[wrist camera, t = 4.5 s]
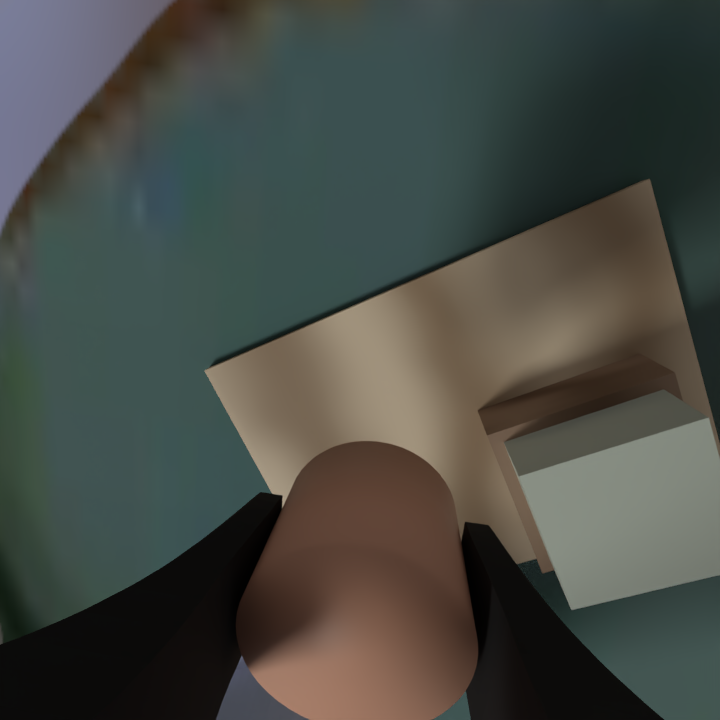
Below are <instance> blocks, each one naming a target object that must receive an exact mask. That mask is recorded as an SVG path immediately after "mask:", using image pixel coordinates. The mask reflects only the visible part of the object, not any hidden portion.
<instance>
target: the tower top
mask: <svg viewBox="0 0 720 720" xmlns="http://www.w3.org/2000/svg"><path fill="white" fill-rule="evenodd" d="M504 444H505V447H506V450H507V452H508V455H509V457H510V460H511V462H512V465H513V467H514V470H515V472H516V475H517V477H518V480H519V482H520V485H521V488H522V490H523V493H524V495H525V498H526V500H527V503H528V505H529V508H530V510H531V513H532V515H533V518H534V521H535V523H536V526H537V528H538V531H539V533H540V536H541V538H542V541H543V543H544V546H545V548H546V551H547V553H548V556H549V559H550V561H551V563H552V566H553V568H554V570H555V573H556V575H557V577H558V580H559V582H560V585H561V587H562V589H563V592H564V594H565V596H566V599H567V601H568V603H569V606H570V608H571V610H574V609H578V608H583V607H587V606H591V605H595V604H600V603H604V602H608V601H612V600H616V599H621V598H625V597H629V596H633V595H637V594H642V593H646V592H650V591H654V590H658V589H663V588H667V587H671V586H675V585H679V584H684V583H688V582H692V581H696V580H700V579H705V578H709V577H713V576H717V575H720V458H719V454H718V450H717V446H716V443H715V439H714V435H713V431H712V428H711V424H710V420H709V417H707V416H706V415H704V414H702V413H701V412H699V411H698V410H696V409H694V408H693V407H691V406H690V405H688V404H686V403H685V402H683V401H682V400H680V399H678V398H677V397H675V396H674V395H672V394H671V393H669V392H667V391H666V390H664V389H663V390H660V391H657V392H654V393H651V394H648V395H645V396H642V397H639V398H636V399H633V400H630V401H627V402H624V403H621V404H618V405H615V406H612V407H609V408H606V409H603V410H600V411H597V412H594V413H591V414H587V415H584V416H581V417H578V418H575V419H572V420H569V421H566V422H563V423H560V424H557V425H554V426H551V427H548V428H545V429H542V430H539V431H536V432H533V433H530V434H527V435H524V436H521V437H518V438H515V439H512V440H509V441H506V442H504Z"/></svg>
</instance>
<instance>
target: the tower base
mask: <svg viewBox="0 0 720 720" xmlns="http://www.w3.org/2000/svg"><path fill="white" fill-rule="evenodd" d="M663 389H664V390H666V391H667V392H669V393H671V394H672V395H674V396H675V397H677V398H678V399H680V400H682V401H683V399H682V396H681V392H680V389H679V385H678V381H677V378H676V374H675V372H673V371H671V370H670V369H668V368H666V367H664V366H662V365H660V364H658V363H657V362H655V361H653V360H651V359H649V358H647V357H645V356H644V355H642V354H637V355H634V356H631V357H629V358H626V359H623V360H620V361H617V362H614V363H611V364H609V365H606V366H603V367H600V368H597V369H594V370H591V371H589V372H586V373H583V374H580V375H577V376H574V377H572V378H569V379H566V380H563V381H560V382H557V383H554V384H552V385H549V386H546V387H543V388H540V389H537V390H534V391H532V392H529V393H526V394H523V395H520V396H517V397H514V398H512V399H509V400H506V401H503V402H500V403H497V404H494V405H492V406H489V407H486V408H483V409H480V410H478V413H479V416H480V418H481V421H482V424H483V426H484V429H485V432H486V434H487V437H488V439H489V442H490V444H491V447H492V449H493V452H494V454H495V457H496V459H497V462H498V464H499V467H500V469H501V471H502V474H503V476H504V479H505V481H506V484H507V486H508V489H509V491H510V494H511V496H512V499H513V501H514V504H515V506H516V509H517V511H518V514H519V516H520V519H521V521H522V524H523V526H524V529H525V531H526V534H527V536H528V539H529V541H530V543H531V546H532V548H533V551H534V553H535V556H536V558H537V561H538V563H539V566H540V568H541V571H542V573H545V572H549V571H553V570H554V568H553V566H552V563H551V561H550V559H549V556H548V553H547V551H546V548H545V546H544V543H543V541H542V538H541V536H540V533H539V531H538V528H537V526H536V523H535V521H534V518H533V515H532V513H531V510H530V508H529V505H528V503H527V500H526V498H525V495H524V493H523V490H522V488H521V485H520V482H519V480H518V477H517V475H516V472H515V470H514V467H513V465H512V462H511V460H510V457H509V455H508V452H507V450H506V447H505V444H504V442H506V441H509V440H512V439H515V438H518V437H521V436H524V435H527V434H530V433H533V432H536V431H539V430H542V429H545V428H548V427H551V426H554V425H557V424H560V423H563V422H566V421H569V420H572V419H575V418H578V417H581V416H584V415H587V414H591V413H594V412H597V411H600V410H603V409H606V408H609V407H612V406H615V405H618V404H621V403H624V402H627V401H630V400H633V399H636V398H639V397H642V396H645V395H648V394H651V393H654V392H657V391H660V390H663Z"/></svg>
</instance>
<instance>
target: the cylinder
mask: <svg viewBox="0 0 720 720" xmlns="http://www.w3.org/2000/svg"><path fill="white" fill-rule="evenodd" d="M236 636H237V641H238V645H239V649H240V652H241V654H242V657H243V659H244V662H245V663H246V665H247V667H248V669H249V670H250V672H251V674H252V675H253V676H254V678H255V679H256V680H257V682H258V683H259V684H260V685H261V686H262V687H263V688H264V689H265V690H266V691H267V692H268V693H269V694H270V695H271V696H272V697H274V698H275V699H276V700H277V701H278V702H280V703H281V704H283V705H284V706H286V707H287V708H288V709H290V710H292V711H294V712H295V713H297V714H299V715H301V716H303V717H305V718H307V719H310V720H432V719H433V718H435V717H437V716H439V715H441V714H442V713H443V712H445V711H446V710H448V709H449V708H450V707H451V706H452V705H453V704H454V703H456V702H457V701H458V700H459V699H460V697H461V696H462V695H463V693H464V692H465V691H466V689H467V688H468V686H469V684H470V682H471V680H472V678H473V676H474V672H475V669H476V666H477V659H478V640H477V634H476V628H475V622H474V616H473V610H472V604H471V598H470V592H469V586H468V580H467V574H466V568H465V562H464V556H463V550H462V544H461V538H460V532H459V526H458V520H457V514H456V508H455V503H454V499H453V497H452V494H451V491H450V489H449V488H448V486H447V484H446V482H445V481H444V479H443V478H442V477H441V475H440V474H439V473H438V472H437V471H436V470H435V469H434V468H433V467H432V466H431V465H430V464H429V463H428V462H427V461H425V460H424V459H423V458H421V457H420V456H418V455H416V454H415V453H413V452H411V451H409V450H406V449H404V448H402V447H399V446H396V445H393V444H389V443H384V442H377V441H355V442H349V443H344V444H341V445H338V446H334V447H332V448H330V449H328V450H325V451H324V452H322V453H320V454H319V455H317V456H316V457H314V458H313V459H312V460H311V461H310V462H308V463H307V464H306V466H305V467H304V468H303V469H302V470H301V471H300V473H299V474H298V476H297V478H296V479H295V482H294V484H293V486H292V488H291V490H290V492H289V495H288V497H287V499H286V501H285V503H284V506H283V508H282V510H281V512H280V514H279V517H278V519H277V521H276V523H275V525H274V528H273V530H272V532H271V534H270V536H269V539H268V541H267V543H266V545H265V547H264V550H263V552H262V554H261V556H260V558H259V561H258V563H257V565H256V567H255V569H254V572H253V574H252V576H251V578H250V580H249V583H248V585H247V587H246V589H245V591H244V594H243V596H242V598H241V600H240V603H239V607H238V610H237V616H236Z"/></svg>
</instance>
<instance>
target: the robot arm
mask: <svg viewBox="0 0 720 720" xmlns="http://www.w3.org/2000/svg"><path fill="white" fill-rule="evenodd" d="M282 498H283V495H276V494H269V493H262V492H260V493H259V494H258V495H256V496H255V497H254V498H253V499H251V500H250V501H249V502H248V503H247V504H246V505H244V506H243V507H242V508H241V509H240V510H238V511H237V512H236V513H235V514H234V515H232V516H231V517H230V518H229V519H228V520H226V521H225V522H224V523H223V524H221V525H220V526H219V527H217V528H216V529H215V530H214V531H212V532H211V533H210V534H209V535H207V536H206V537H205V538H203V539H202V540H201V541H199V542H198V543H197V544H195V545H194V546H192V547H191V548H190V549H188V550H187V551H185V552H184V553H183V554H181V555H180V556H178V557H177V558H176V559H174V560H173V561H171V562H170V563H168V564H167V565H165V566H164V567H162V568H160V569H159V570H157V571H156V572H154V573H152V574H150V575H149V576H147V577H145V578H144V579H142V580H140V581H139V582H137V583H135V584H133V585H132V586H130V587H128V588H126V589H124V590H122V591H120V592H118V593H116V594H114V595H112V596H111V597H109V598H107V599H105V600H103V601H101V602H99V603H97V604H95V605H93V606H91V607H89V608H87V609H85V610H83V611H81V612H79V613H76V614H74V615H72V616H70V617H68V618H65V619H63V620H61V621H59V622H56V623H54V624H52V625H49V626H47V627H44V628H42V629H40V630H37V631H35V632H32V633H30V634H27V635H25V636H22V637H20V638H17V639H15V640H12V641H9V642H6V643H4V644H1V645H0V720H310V719H307V718H305V717H303V716H301V715H299V714H297V713H295V712H294V711H292V710H290V709H288V708H287V707H286V706H284V705H283V704H281V703H280V702H278V701H277V700H276V699H275V698H274V697H272V696H271V695H270V694H269V693H268V692H267V691H266V690H265V689H264V688H263V687H262V686H261V685H260V684H259V683H258V682H257V680H256V679H255V678H254V676H253V675H252V674H251V672H250V670H249V669H248V667H247V665H246V663H245V662H244V659H243V657H242V654H241V652H240V649H239V645H238V641H237V636H236V616H237V610H238V607H239V603H240V600H241V598H242V596H243V594H244V591H245V589H246V587H247V585H248V583H249V580H250V578H251V576H252V574H253V572H254V569H255V567H256V565H257V563H258V561H259V558H260V556H261V554H262V552H263V550H264V547H265V545H266V543H267V541H268V539H269V536H270V534H271V532H272V530H273V528H274V525H275V523H276V521H277V519H278V517H279V514H280V512H281V510H282ZM461 544H462V550H463V556H464V562H465V568H466V574H467V580H468V586H469V592H470V598H471V604H472V610H473V616H474V622H475V628H476V634H477V640H478V659H477V666H476V669H475V672H474V676H473V678H472V680H471V682H470V684H469V686H468V688H467V689H466V693H467V699H468V705H469V710H470V716H471V720H664V719H663V718H661V717H660V716H659V715H658V714H657V713H656V712H654V711H653V710H652V709H651V708H650V707H649V706H647V705H646V704H645V703H644V702H643V701H642V700H641V699H640V698H639V697H637V696H636V695H635V694H634V693H633V692H632V691H631V690H630V689H629V688H628V687H626V686H625V685H624V684H623V683H622V682H621V681H620V680H619V679H618V678H617V677H616V676H614V675H613V674H612V673H611V672H610V671H609V670H608V669H607V668H606V667H605V666H604V665H603V664H602V663H601V662H600V661H599V660H598V659H597V658H596V657H595V656H594V655H593V654H592V653H591V652H590V651H589V650H588V649H587V648H586V647H585V646H584V645H583V644H582V643H581V641H580V640H579V639H578V638H577V637H576V636H575V635H574V634H573V633H572V632H571V631H570V630H569V629H568V628H567V626H566V625H565V624H564V623H563V622H562V621H561V620H560V618H559V617H558V616H557V615H556V614H555V613H554V611H553V610H552V609H551V608H550V607H549V606H548V604H547V603H546V602H545V601H544V599H543V598H542V597H541V596H540V594H539V593H538V592H537V591H536V589H535V588H534V587H533V585H532V584H531V583H530V581H529V580H528V579H527V578H526V576H525V575H524V574H523V572H522V571H521V570H520V568H519V567H518V565H517V564H516V563H515V561H514V560H513V559H512V557H511V556H510V554H509V553H508V552H507V550H506V549H505V547H504V546H503V544H502V543H501V541H500V540H499V539H498V537H497V536H496V534H495V533H494V532H493V530H492V529H491V527H490V526H489V525H485V524H478V523H471V522H465V524H464V530H463V535H462V540H461Z"/></svg>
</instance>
